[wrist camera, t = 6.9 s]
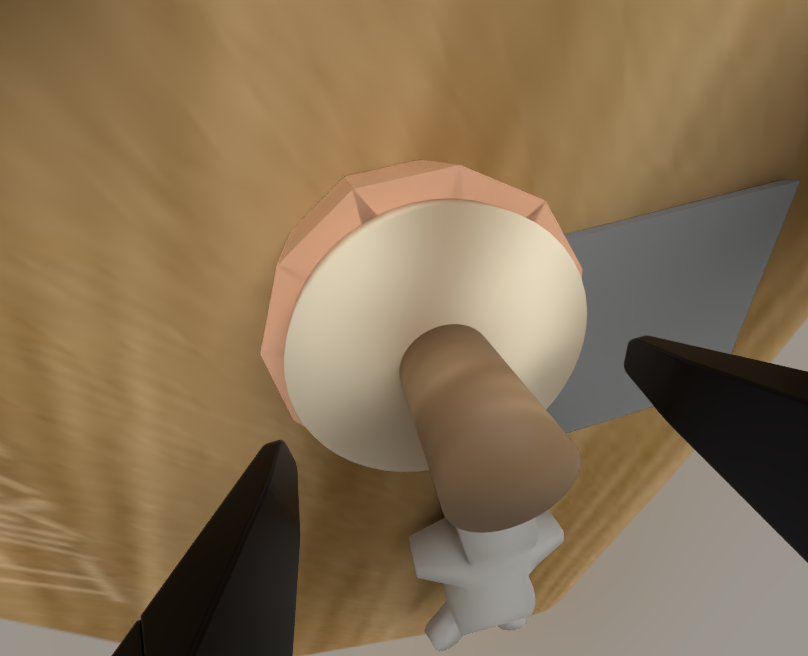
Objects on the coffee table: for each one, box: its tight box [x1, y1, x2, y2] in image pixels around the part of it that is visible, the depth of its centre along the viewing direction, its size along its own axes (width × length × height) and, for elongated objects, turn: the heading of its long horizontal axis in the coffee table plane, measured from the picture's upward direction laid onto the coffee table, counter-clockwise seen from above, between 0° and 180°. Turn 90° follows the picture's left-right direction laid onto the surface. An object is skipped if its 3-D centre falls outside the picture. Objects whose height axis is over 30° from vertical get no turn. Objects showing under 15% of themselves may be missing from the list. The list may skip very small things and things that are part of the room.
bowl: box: [260, 160, 583, 427], centre depth 12 cm, size 10×10×4 cm
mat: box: [546, 179, 800, 433], centre depth 17 cm, size 12×12×1 cm
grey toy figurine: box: [409, 510, 564, 651], centre depth 22 cm, size 10×5×15 cm
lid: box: [284, 198, 587, 533], centre depth 8 cm, size 9×9×5 cm
